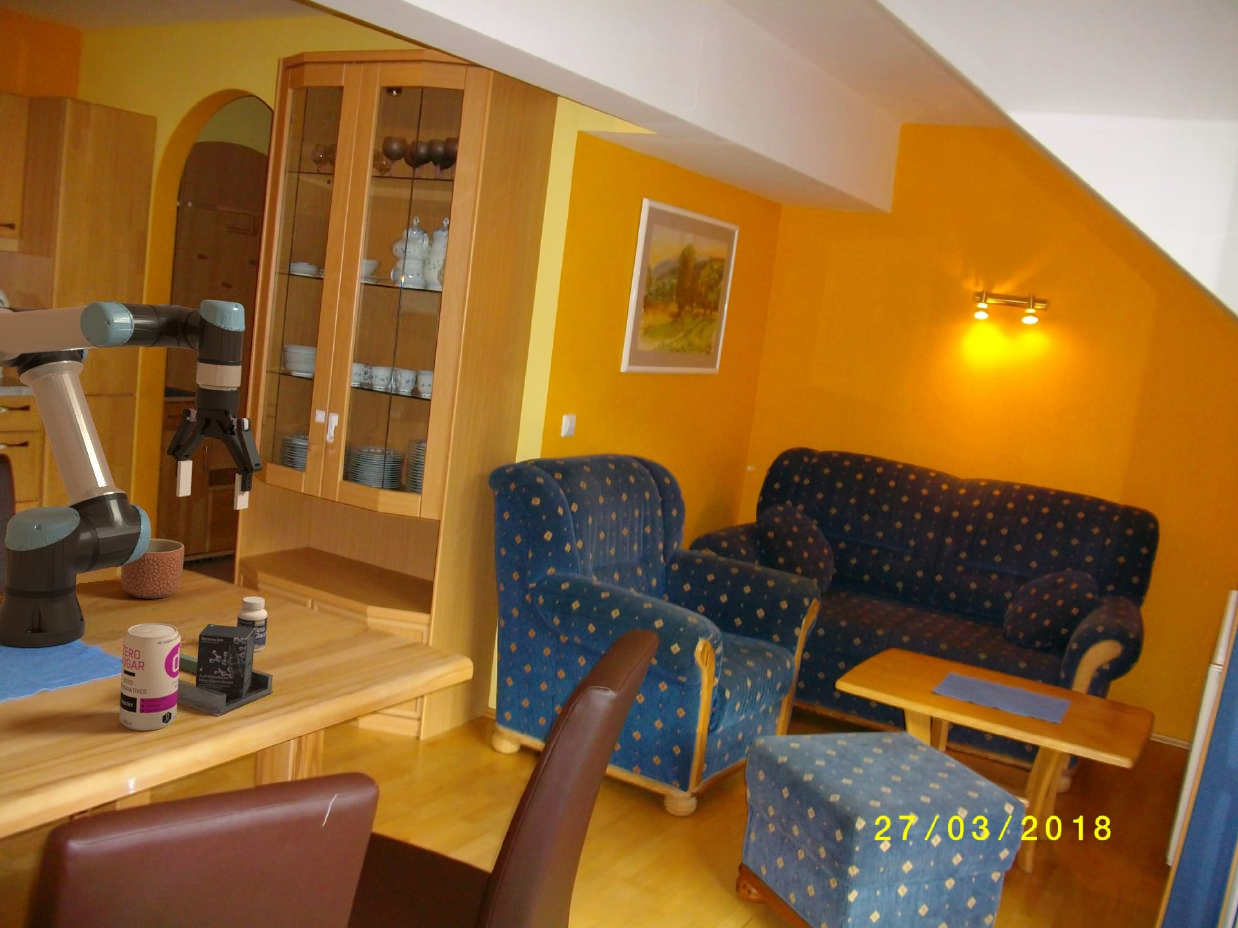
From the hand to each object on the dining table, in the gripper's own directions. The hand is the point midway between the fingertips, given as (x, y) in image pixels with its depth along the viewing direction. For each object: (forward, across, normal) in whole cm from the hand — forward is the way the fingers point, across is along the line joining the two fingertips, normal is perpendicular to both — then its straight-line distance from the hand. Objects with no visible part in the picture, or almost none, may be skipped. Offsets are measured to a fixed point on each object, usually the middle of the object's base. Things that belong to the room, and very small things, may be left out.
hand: (211, 502), depth 191 cm
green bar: (+29, -4, +8) cm, 30 cm away
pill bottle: (+29, -5, -7) cm, 30 cm away
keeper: (+29, -18, +14) cm, 37 cm away
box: (+28, -18, +14) cm, 36 cm away
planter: (+29, +33, -19) cm, 48 cm away
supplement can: (+29, -16, +28) cm, 44 cm away
